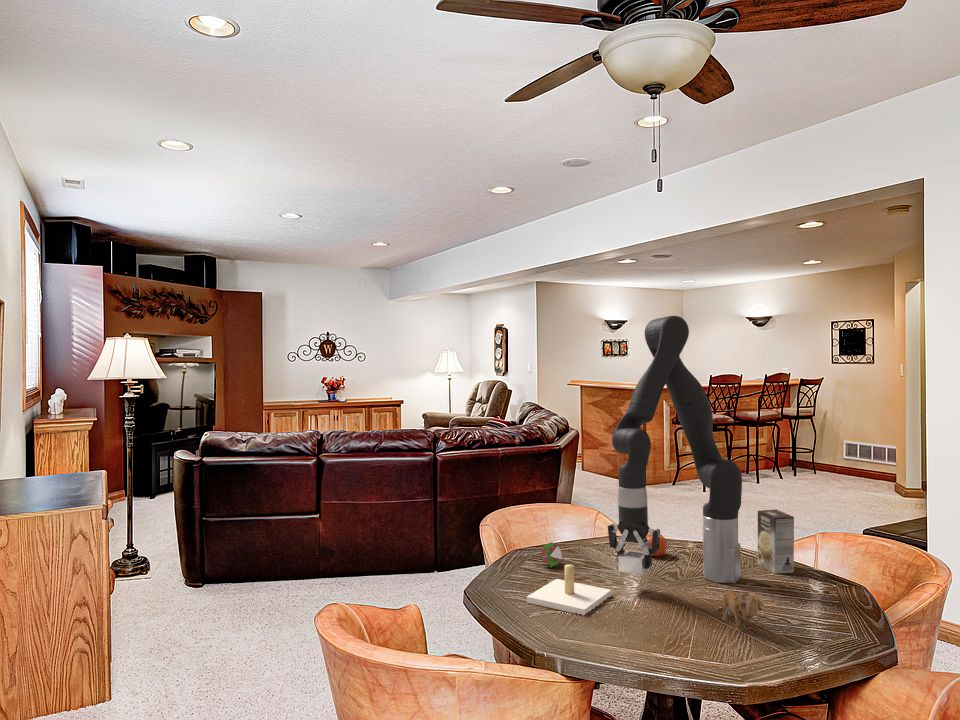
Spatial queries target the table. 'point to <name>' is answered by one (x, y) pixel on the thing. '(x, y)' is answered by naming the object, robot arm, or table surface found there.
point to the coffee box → (776, 541)
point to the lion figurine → (741, 607)
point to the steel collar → (632, 562)
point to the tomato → (662, 545)
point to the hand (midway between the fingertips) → (634, 566)
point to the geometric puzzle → (551, 554)
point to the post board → (569, 594)
